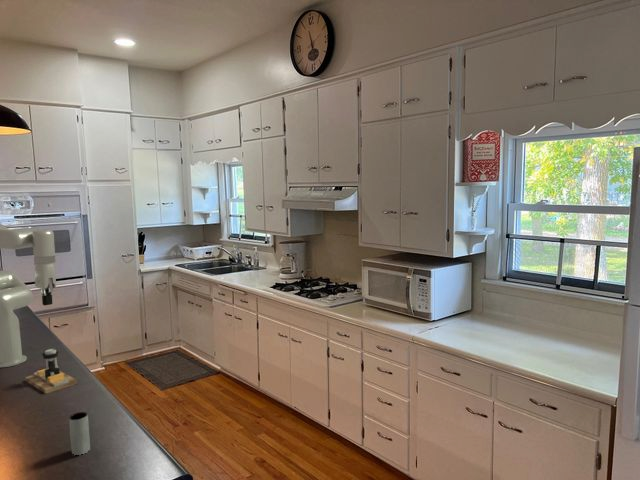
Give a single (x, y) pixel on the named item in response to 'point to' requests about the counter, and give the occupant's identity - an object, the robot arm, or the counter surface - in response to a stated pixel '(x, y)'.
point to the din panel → (46, 386)
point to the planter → (79, 433)
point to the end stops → (51, 378)
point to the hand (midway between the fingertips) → (47, 304)
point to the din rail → (54, 383)
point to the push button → (51, 363)
